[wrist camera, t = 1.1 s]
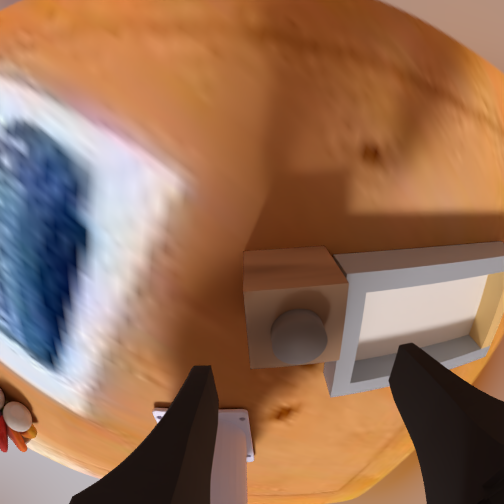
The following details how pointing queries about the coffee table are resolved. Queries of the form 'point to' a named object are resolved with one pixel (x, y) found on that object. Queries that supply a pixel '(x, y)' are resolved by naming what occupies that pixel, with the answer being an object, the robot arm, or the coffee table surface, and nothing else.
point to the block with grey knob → (293, 306)
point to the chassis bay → (416, 309)
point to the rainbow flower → (15, 424)
